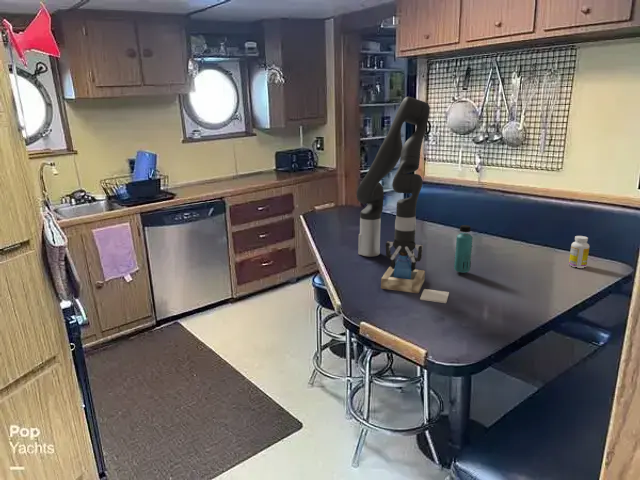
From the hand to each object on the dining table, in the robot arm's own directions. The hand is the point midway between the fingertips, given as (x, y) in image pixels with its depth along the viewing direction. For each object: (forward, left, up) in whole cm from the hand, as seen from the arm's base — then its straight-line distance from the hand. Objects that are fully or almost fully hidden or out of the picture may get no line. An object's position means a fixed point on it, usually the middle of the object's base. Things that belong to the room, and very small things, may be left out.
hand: (402, 269), depth 176 cm
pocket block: (0, 0, -6) cm, 6 cm away
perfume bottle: (0, 0, -5) cm, 5 cm away
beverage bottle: (+20, +20, -6) cm, 29 cm away
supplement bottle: (+65, +45, -6) cm, 80 cm away
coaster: (+13, -8, -6) cm, 17 cm away
